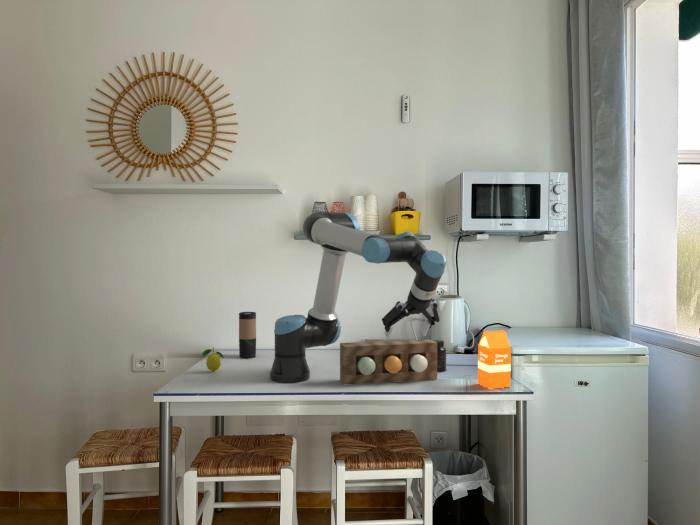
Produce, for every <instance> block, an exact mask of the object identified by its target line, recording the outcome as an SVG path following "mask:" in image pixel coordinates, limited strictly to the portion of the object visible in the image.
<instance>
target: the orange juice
mask: <svg viewBox="0 0 700 525" xmlns="http://www.w3.org/2000/svg"><path fill="white" fill-rule="evenodd" d="M510 344H511V343H510V341H509V339H508V336H507V333H506V330H488V331H487V330H486V331H483V333H482V335H481V338H480V340H479V342H478V344H477V346H478V348H477V351H478V352H477V385H479V384H480V385H479V386H481V385H482V386H481V387H483V386H484V387H483V388H485V387H487V388H489V389H490V388H502V389H505V388H504V387H510V388H511V370H512V369H511V368H512V365H511V364H512V363H511V362H512V361H511V359H512V357H511V356H512V355H511V354H512V347H511V345H510ZM487 388H486V389H487ZM489 389H488V390H489ZM490 390H491V389H490Z"/></svg>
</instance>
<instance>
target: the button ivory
mask: <svg viewBox="0 0 700 525" xmlns="http://www.w3.org/2000/svg"><path fill="white" fill-rule="evenodd" d="M427 365H428V362H427V360H426V358H425V357H423V356H421V355H419V354H416V355H413V356H412V357H411V359H410V367H411V368H412V369H413V370H415V371H416V372H423V371H424V370H425V369H426V368H427Z"/></svg>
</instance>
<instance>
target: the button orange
mask: <svg viewBox="0 0 700 525" xmlns="http://www.w3.org/2000/svg"><path fill="white" fill-rule="evenodd" d="M384 367H385V369H386V370H387V371H388V372H390V373H392V374H395V373H397V372H399V371H400V369H401V367H402V363H401V361H400V359H398V358H397V357H396V356H392V355H391V356H388V357H387V358H386V359H385V360H384Z"/></svg>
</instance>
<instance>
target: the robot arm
mask: <svg viewBox="0 0 700 525" xmlns="http://www.w3.org/2000/svg"><path fill="white" fill-rule="evenodd" d="M302 224H303V225H302V232H303V235H304V237H305V238H306V239H307V240H308V241H310V242H311V243H314V244H316V245H319V246H320V247H321V248H322V250H323V252H322V257H321V264H320V269H319V274H318V279H317V283H316V284H317V285H316V289H315V295H314V299H313V305H312V307H311V308H309V310H308V312H307V316H305V315H303V314H291V315H290V314H289V315H285V316H281V317H280V318H278V319H276V320H275V323H274V332H273V333H274V358H273V362H272V365H271V369H270V372H269V379H270V380H271V381H274V382H276V383H284V384H285V383H290V384H291V383H300V382H305V381H308V380H309V379H310V377H311V371H310V370H311V369H310V368H309V365H308V362H307V359H306V349H310V348H317V347H326V346H329V345H332V344H334V343H336V342H337V341H338V340H339V338H340V335H341V331H342V326H341V321H340V319H339V317H338V314H337V313H336V311H335V310H336V307H337V306H336V305H337V300H338V295H339V291H340V285H341V280H342V276H343V271H344V267H345V266H344V265H345V260H346V255H347V254H348V253H351V254H354V255H358V256H360V257H363V259H364V261H365V262H367V263H371V264H384V263H385V264H387V263H406V264H407V265H409V267H410V268H411V269H412V270H413V271H414V273H415V275H414V279H413V281H412V284H411V286H410V289H409V291H408V294H407V300H406V301H405V302H404V303H403V302H401V301H400V300H398V301H396V303H395V305H394V307H392V309H390V310H389V311H388V312H387V313H386V314H385V315H384V316H383V317H382V318H381V322H382V325H383V327H384V334H385V338H386V340H389V339H390V337H391V334H392V332H393V329H394V325H395V324H396V323H398V322H399V321H401V320H403V319H404V318H405V317H409V316H411V315H420V314H422V315H423V316H424V317H425V319H424V322H423V324H422V326H421V329H420V331H421V334H422V337H426V336H427V333H428V332H429V329H431V328H432V326H434V325H436V323H439V322H440V321H441V320H440V318H439V317H440V316H439V313H438V309H437V308H438V303H437V301H436V299H435V298H433V297H434V295H435V292H436V291H437V288H438V284H439V283H440V280H441V279H442V276H443V275H444V273H445V269H446V265H447V259H446V257H445V255H444V254H443V253H440V252H439V251H438V250H432V249H431V250H430V249H429V250H428V248H427V247H426V246H425V245H424V244H423V243H422V241H421V240H420V239H419V237H417V236H416V235H415V234H414V233H413V232H411V231H404V232H403V233H402V232H401V233H400V234H398V235H397V236H396V237H393V238H392V237H383V236H379V235H377V234H376V235H375V234H372V233H368V232H367V231H366V232H365V231H363V230H362V229H361V225H360V222H359V219H357V216H355V215H354V214H351V213H348V212H343V211H342V212H336V211H332V212H331V211H330V212H329V211H317V212H315V211H314V212H313V213H310V214H309V215H308V216H307V217H306V218H305V220H304V222H303V223H302ZM429 307H430V308H431V311H432V314H430V312H429V311H428V310H427V309H429Z"/></svg>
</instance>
